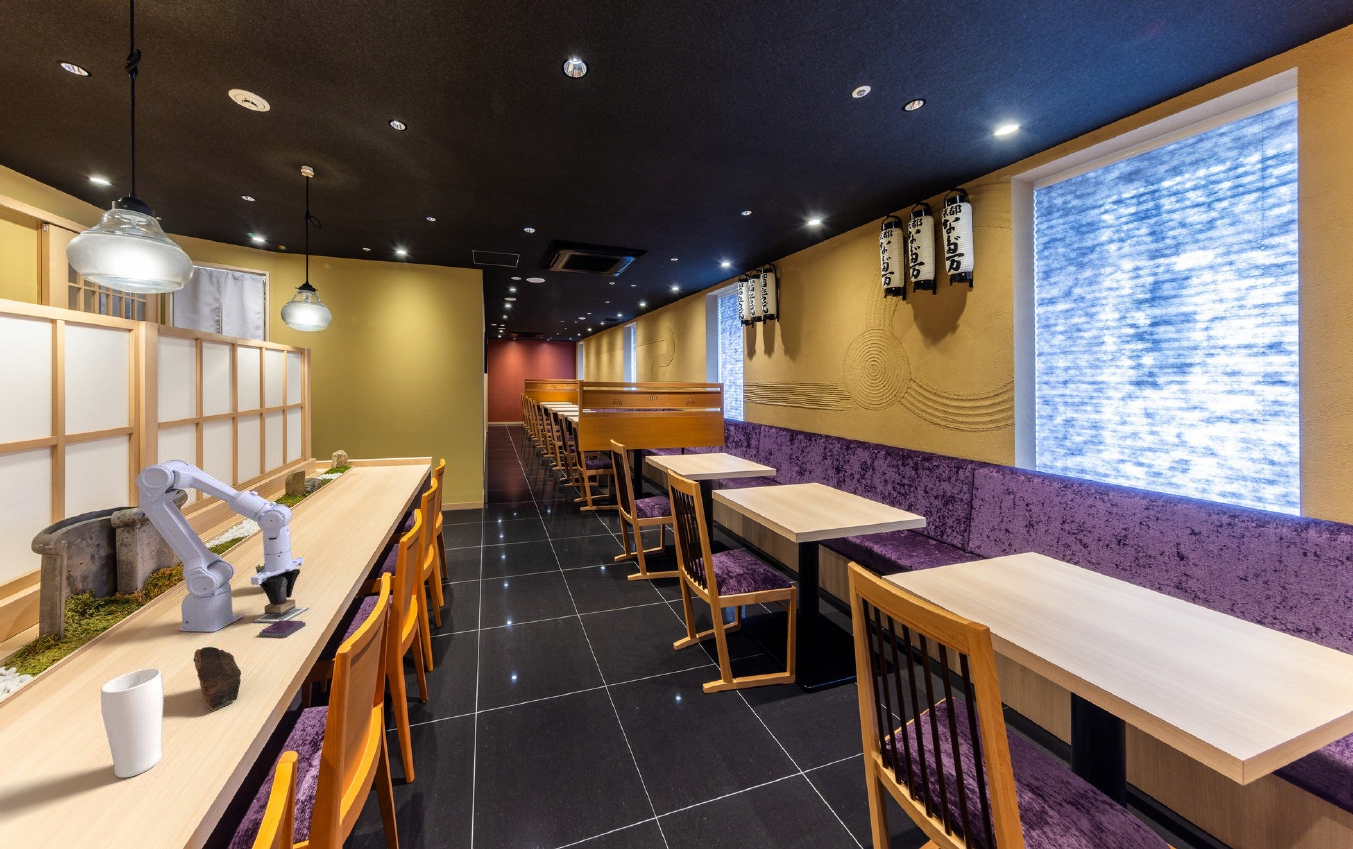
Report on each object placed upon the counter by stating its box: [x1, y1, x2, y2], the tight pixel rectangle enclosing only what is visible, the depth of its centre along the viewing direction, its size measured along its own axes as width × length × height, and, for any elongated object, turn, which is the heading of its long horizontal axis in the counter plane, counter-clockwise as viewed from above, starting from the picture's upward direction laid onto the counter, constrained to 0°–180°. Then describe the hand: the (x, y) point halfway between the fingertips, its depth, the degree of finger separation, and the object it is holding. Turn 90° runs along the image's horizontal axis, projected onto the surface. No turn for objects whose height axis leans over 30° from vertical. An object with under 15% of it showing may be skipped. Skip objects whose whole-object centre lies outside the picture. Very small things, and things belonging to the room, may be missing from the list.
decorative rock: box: [193, 646, 242, 712], centre depth 99 cm, size 12×6×11 cm, turn 52°
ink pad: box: [258, 620, 307, 639], centre depth 126 cm, size 7×6×2 cm
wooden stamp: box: [264, 577, 296, 615], centre depth 133 cm, size 5×5×9 cm
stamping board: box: [252, 606, 310, 624], centre depth 134 cm, size 8×8×1 cm
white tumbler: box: [100, 668, 165, 779], centre depth 80 cm, size 7×7×15 cm
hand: (280, 600), depth 134 cm, fingers closed on wooden stamp, 3 cm apart
